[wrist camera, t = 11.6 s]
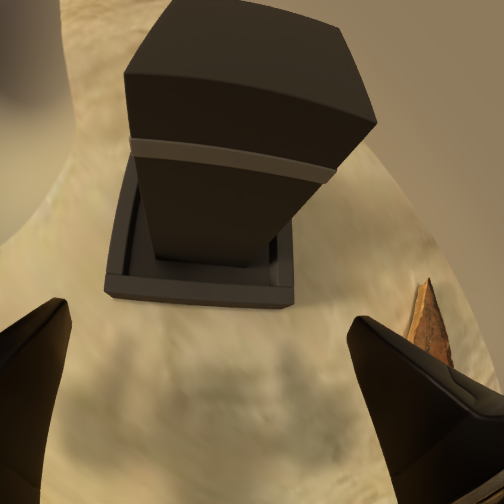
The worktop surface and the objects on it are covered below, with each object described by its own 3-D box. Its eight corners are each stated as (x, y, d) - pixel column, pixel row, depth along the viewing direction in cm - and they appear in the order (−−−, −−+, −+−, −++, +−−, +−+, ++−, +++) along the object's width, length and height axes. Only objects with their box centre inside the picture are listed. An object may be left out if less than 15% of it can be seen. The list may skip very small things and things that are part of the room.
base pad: (281, 309, 18) (294, 304, 16) (112, 297, 15) (103, 291, 13) (278, 173, 21) (288, 156, 19) (137, 157, 19) (134, 138, 17)
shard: (417, 280, 22) (431, 275, 20) (461, 317, 22) (474, 314, 20) (376, 403, 17) (391, 406, 16) (429, 424, 18) (443, 426, 16)
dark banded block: (247, 269, 17) (381, 126, 5) (154, 260, 16) (119, 74, 4) (249, 195, 19) (340, 27, 7) (166, 185, 18) (176, -8, 6)
